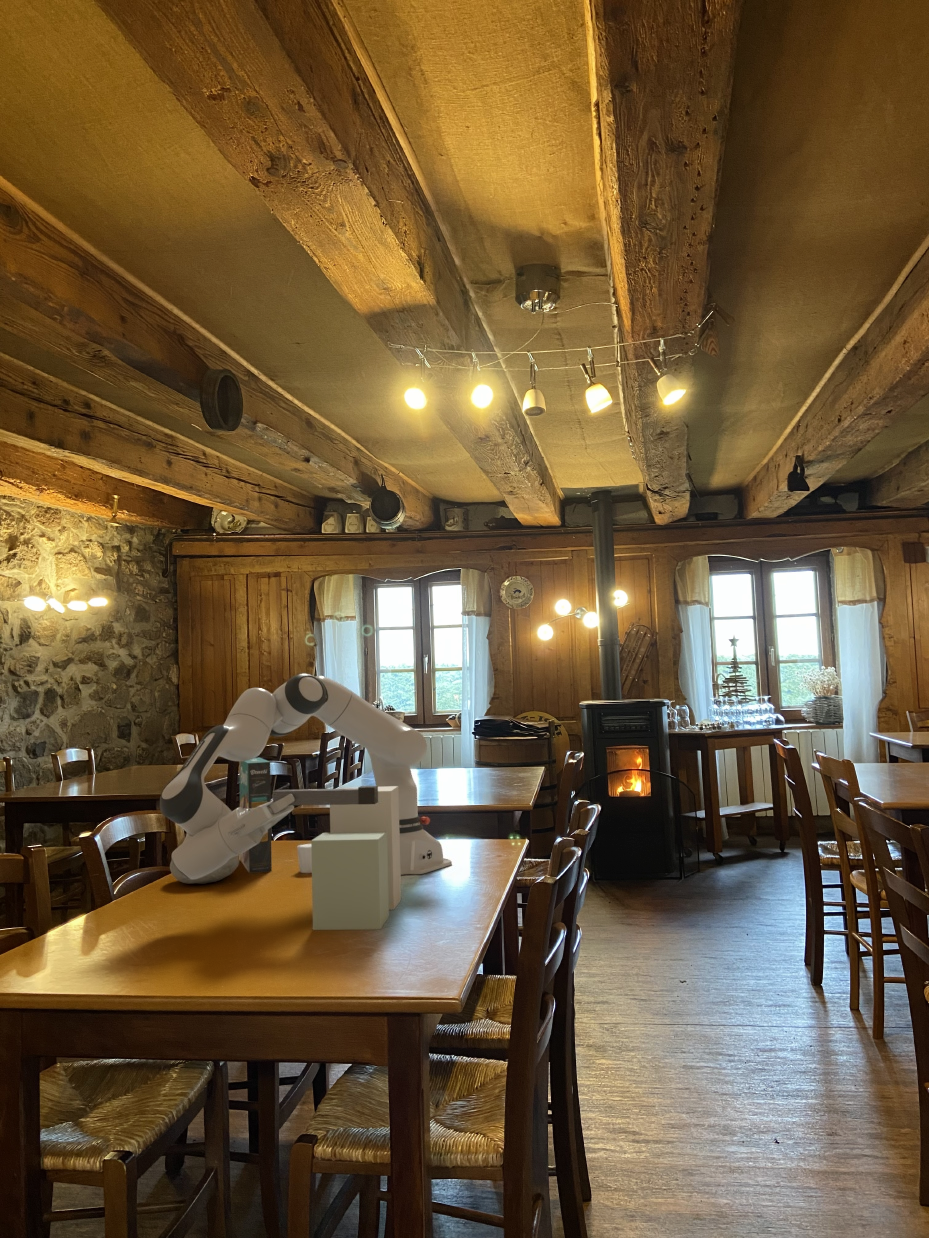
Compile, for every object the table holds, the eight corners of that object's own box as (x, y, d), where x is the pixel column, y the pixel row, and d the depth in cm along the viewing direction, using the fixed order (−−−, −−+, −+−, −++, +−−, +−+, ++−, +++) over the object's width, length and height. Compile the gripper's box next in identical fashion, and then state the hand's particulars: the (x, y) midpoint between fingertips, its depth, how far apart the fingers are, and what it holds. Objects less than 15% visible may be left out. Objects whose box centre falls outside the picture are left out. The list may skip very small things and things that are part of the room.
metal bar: (272, 805, 185) (272, 789, 186) (277, 803, 189) (277, 787, 189) (374, 804, 183) (374, 787, 184) (378, 802, 187) (377, 785, 187)
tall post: (331, 910, 195) (329, 792, 197) (342, 899, 205) (339, 787, 207) (393, 909, 194) (390, 790, 196) (401, 899, 204) (398, 786, 206)
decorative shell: (165, 879, 236) (165, 841, 237) (231, 871, 244) (231, 835, 245) (176, 891, 220) (175, 851, 221) (247, 882, 228) (246, 843, 229)
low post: (312, 929, 179) (311, 840, 181) (325, 917, 189) (323, 832, 191) (380, 929, 178) (378, 839, 180) (389, 916, 188) (386, 831, 190)
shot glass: (317, 873, 237) (316, 847, 238) (293, 873, 238) (293, 847, 239) (326, 868, 244) (326, 842, 244) (303, 868, 245) (302, 842, 246)
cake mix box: (240, 860, 261) (239, 758, 263) (261, 858, 263) (259, 757, 266) (249, 873, 240) (248, 763, 243) (271, 871, 243) (270, 761, 245)
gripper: (217, 823, 177) (274, 787, 177) (250, 809, 198) (302, 777, 197) (232, 850, 177) (290, 814, 176) (264, 834, 197) (316, 802, 197)
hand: (296, 795), depth 187 cm, fingers closed on metal bar, 3 cm apart
